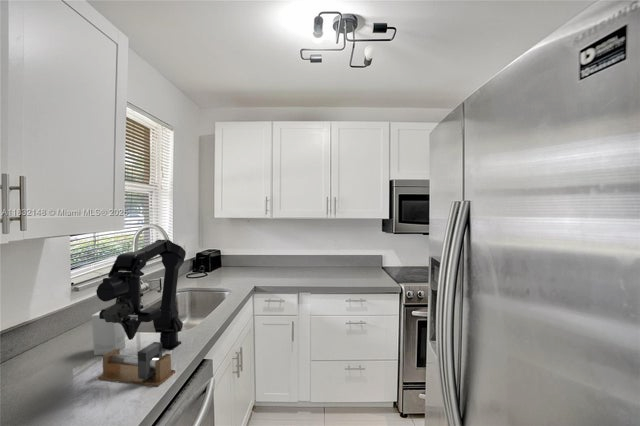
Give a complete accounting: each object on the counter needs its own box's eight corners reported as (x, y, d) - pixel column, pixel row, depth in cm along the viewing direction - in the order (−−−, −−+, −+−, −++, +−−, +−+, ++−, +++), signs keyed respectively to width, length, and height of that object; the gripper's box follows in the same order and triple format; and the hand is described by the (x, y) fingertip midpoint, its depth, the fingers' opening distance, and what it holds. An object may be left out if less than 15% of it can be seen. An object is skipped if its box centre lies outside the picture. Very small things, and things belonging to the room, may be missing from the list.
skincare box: (125, 347, 120) (124, 308, 120) (114, 355, 113) (113, 314, 113) (104, 347, 120) (103, 308, 119) (92, 355, 113) (91, 314, 113)
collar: (138, 378, 95) (137, 352, 95) (154, 366, 102) (154, 341, 102) (146, 379, 94) (146, 352, 94) (162, 367, 102) (162, 342, 101)
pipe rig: (97, 379, 97) (97, 358, 97) (118, 366, 105) (118, 346, 105) (158, 386, 93) (157, 364, 93) (175, 372, 101) (174, 351, 101)
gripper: (82, 297, 93) (83, 348, 93) (135, 301, 89) (136, 353, 90) (113, 288, 104) (114, 333, 104) (161, 290, 100) (162, 337, 101)
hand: (131, 339), depth 99 cm, fingers closed
